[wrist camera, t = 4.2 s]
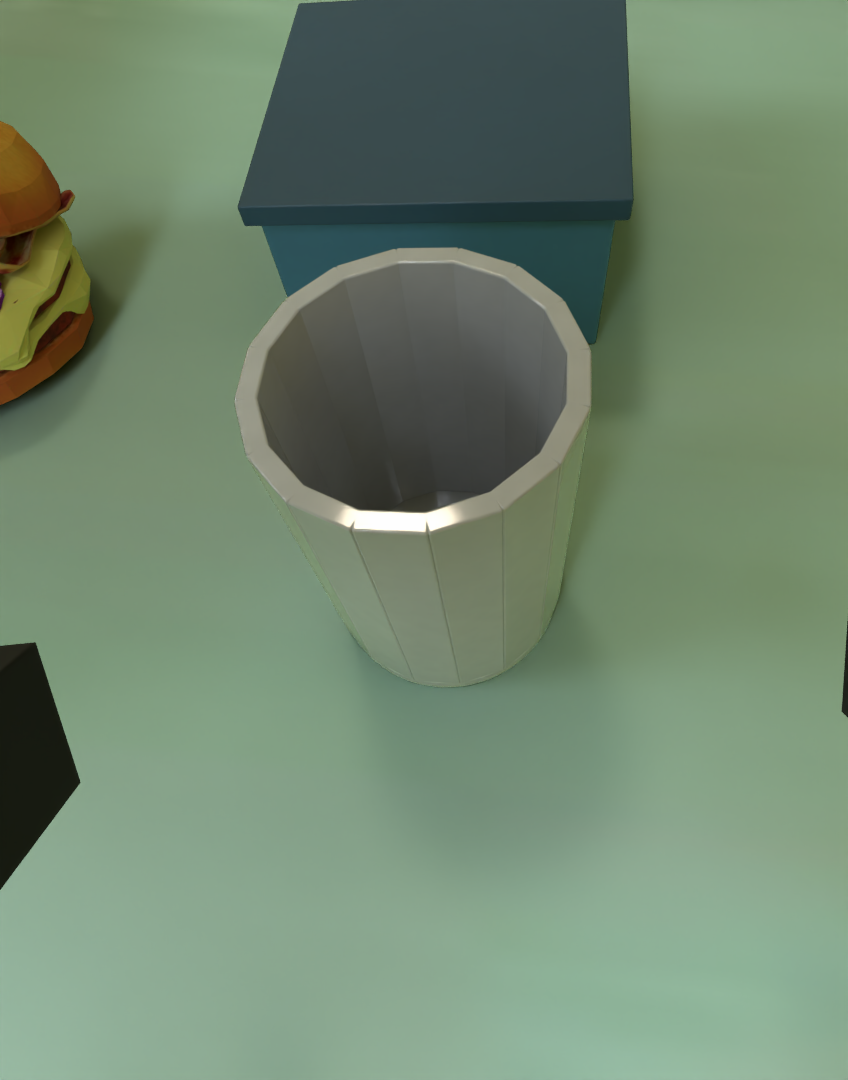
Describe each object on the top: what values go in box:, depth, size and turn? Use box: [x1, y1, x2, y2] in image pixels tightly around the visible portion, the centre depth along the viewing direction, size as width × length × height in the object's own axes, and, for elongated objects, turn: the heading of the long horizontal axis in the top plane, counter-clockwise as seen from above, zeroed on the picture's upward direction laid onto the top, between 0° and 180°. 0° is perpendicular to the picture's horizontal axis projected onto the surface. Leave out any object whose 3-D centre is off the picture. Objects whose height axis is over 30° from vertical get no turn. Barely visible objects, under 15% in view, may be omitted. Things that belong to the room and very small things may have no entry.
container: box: [238, 0, 634, 344], centre depth 29 cm, size 13×12×7 cm
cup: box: [234, 247, 592, 687], centre depth 20 cm, size 7×7×11 cm
